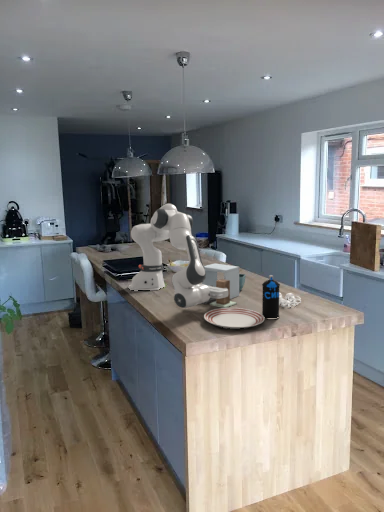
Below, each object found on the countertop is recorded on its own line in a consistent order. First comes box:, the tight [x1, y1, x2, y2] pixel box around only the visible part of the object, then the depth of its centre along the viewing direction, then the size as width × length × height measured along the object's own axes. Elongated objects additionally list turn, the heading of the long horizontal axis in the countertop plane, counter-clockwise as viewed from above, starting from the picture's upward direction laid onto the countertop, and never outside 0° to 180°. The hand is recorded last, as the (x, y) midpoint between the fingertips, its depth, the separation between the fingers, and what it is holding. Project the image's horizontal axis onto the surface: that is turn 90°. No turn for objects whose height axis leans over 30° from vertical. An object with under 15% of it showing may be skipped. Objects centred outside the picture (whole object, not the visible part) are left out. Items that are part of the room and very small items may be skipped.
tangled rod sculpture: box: [279, 291, 302, 308], centre depth 226 cm, size 19×14×4 cm
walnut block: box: [216, 278, 231, 305], centre depth 225 cm, size 5×5×12 cm
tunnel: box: [201, 262, 240, 300], centre depth 242 cm, size 12×17×16 cm
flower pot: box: [239, 273, 247, 292], centre depth 254 cm, size 9×9×9 cm
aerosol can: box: [261, 274, 281, 318], centre depth 202 cm, size 8×8×20 cm
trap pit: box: [201, 297, 216, 305], centre depth 233 cm, size 9×9×1 cm
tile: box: [209, 300, 238, 308], centre depth 226 cm, size 10×10×1 cm
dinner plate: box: [203, 307, 266, 330], centre depth 197 cm, size 27×27×3 cm
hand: (218, 288), depth 221 cm, fingers open, 8 cm apart
